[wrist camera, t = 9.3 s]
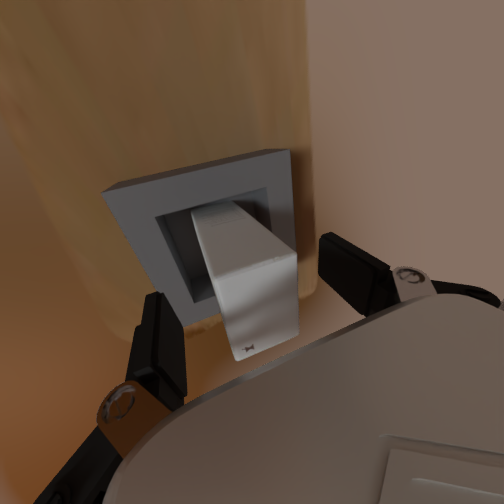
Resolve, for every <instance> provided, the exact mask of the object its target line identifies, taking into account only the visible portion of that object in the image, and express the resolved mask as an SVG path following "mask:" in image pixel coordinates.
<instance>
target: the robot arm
mask: <svg viewBox="0 0 504 504" xmlns="http://www.w3.org/2000/svg"><path fill="white" fill-rule="evenodd" d="M389 269H390V266H389V265H387V264H386V263H384V262H382V261H381V260H379V259H377V258H375V257H374V256H372V255H370V254H369V253H367V252H365V251H363V250H362V249H360V248H358V247H356V246H355V245H353V244H352V243H350V242H348V241H346V240H345V239H343V238H341V237H339V236H338V235H336V234H334V233H333V232H329V233H326V234H323V235H322V236H321V238H320V239H319V258H318V274H319V276H320V277H321V278H322V279H323V280H324V281H325V282H326V283H327V284H328V285H329V286H330V287H332V288H333V289H334V290H335V291H336V292H337V293H338V294H339V295H340V296H341V297H342V298H343V299H344V300H345V301H346V302H348V303H349V304H350V305H351V306H352V307H353V308H354V309H355V310H356V311H357V312H358V313H360V314H361V315H364V316H365V317H366V318H364V319H362V320H360V321H358V322H355V323H353V324H351V325H349V326H347V327H344V328H342V329H340V330H338V331H336V332H334V333H331V334H329V335H327V336H325V337H323V338H321V339H319V340H317V341H314V342H312V343H310V344H308V345H306V346H304V347H301V348H299V349H297V350H295V351H293V352H291V353H289V354H286V355H284V356H282V357H280V358H278V359H276V360H274V361H272V362H269V363H267V364H265V365H263V366H261V367H259V368H257V369H255V370H253V371H251V372H248V373H246V374H244V375H242V376H240V377H238V378H236V379H234V380H232V381H229V382H227V383H225V384H223V385H221V386H219V387H217V388H215V389H213V390H211V391H209V392H207V393H205V394H203V395H201V396H199V397H197V398H196V399H194V400H192V401H190V402H189V403H187V404H185V405H184V397H185V396H187V378H186V362H185V347H184V346H185V345H184V330H183V326H182V324H181V322H180V320H179V319H178V317H177V315H176V313H175V312H174V310H173V308H172V306H171V305H170V303H169V301H168V299H167V298H166V296H165V294H164V293H163V292H162V293H160V292H159V291H157V292H154V293H151V294H148V295H146V297H145V303H144V309H143V315H142V321H141V325H138V326H137V327H136V328H135V332H134V337H133V342H132V347H131V352H130V358H129V363H128V368H127V373H126V379H125V382H123V383H121V384H119V385H118V386H116V387H115V388H114V389H113V390H112V391H110V392H109V393H108V395H107V396H106V397H105V398H104V400H103V402H102V403H101V405H100V407H99V409H98V412H97V418H96V422H97V427H96V428H95V429H94V430H93V432H92V433H91V434H90V435H89V436H88V437H87V439H86V440H85V441H84V442H83V443H82V445H81V446H80V447H79V448H78V449H77V451H76V452H75V453H74V454H73V456H72V457H71V458H70V459H69V460H68V462H67V463H66V464H65V465H64V467H63V468H62V469H61V470H60V471H59V473H58V474H57V475H56V476H55V477H54V478H53V480H52V481H51V482H50V483H49V485H48V486H47V487H46V488H45V490H44V491H43V492H42V493H41V494H40V495H39V497H38V498H37V499H36V500H35V502H34V503H33V504H504V299H503V300H502V301H500V300H499V299H498V298H497V296H495V295H494V294H492V293H491V292H489V291H487V290H485V289H483V288H479V287H475V286H470V285H463V284H455V283H448V282H442V281H434V280H430V279H429V277H428V276H427V275H426V274H425V273H424V272H422V271H420V270H418V269H415V268H412V267H397V268H395V269H394V270H393V271H391V270H389Z"/></svg>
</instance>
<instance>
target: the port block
mask: <svg viewBox="0 0 504 504" xmlns="http://www.w3.org/2000/svg"><path fill="white" fill-rule="evenodd" d="M101 194H102V196H103V198H104V200H105V201H106V203H107V205H108V207H109V208H110V210H111V212H112V214H113V215H114V217H115V219H116V221H117V222H118V224H119V226H120V228H121V229H122V231H123V233H124V235H125V236H126V238H127V240H128V242H129V243H130V245H131V247H132V249H133V250H134V252H135V254H136V256H137V257H138V259H139V261H140V263H141V264H142V266H143V268H144V270H145V271H146V273H147V275H148V277H149V278H150V280H151V282H152V284H153V285H154V287H155V289H156V291H159V292H160V293H162V292H163V293H164V294H165V296H166V298H167V299H168V301H169V303H170V305H171V306H172V308H173V310H174V312H175V313H176V315H177V317H178V319H179V320H180V322H181V324H182V326H183V327H185V326H188V325H190V324H193V323H195V322H198V321H200V320H203V319H205V318H208V317H210V316H213V315H215V314H218V313H220V309H219V305H218V302H217V299H216V295H215V292H214V289H213V285H212V282H211V279H210V276H209V273H208V269H207V266H206V263H205V260H204V257H203V253H202V250H201V247H200V244H199V241H198V237H197V234H196V231H195V227H194V223H193V220H192V216H191V212H190V210H191V209H195V208H200V207H204V206H209V205H214V204H218V203H223V202H227V201H233V202H235V203H236V204H237V205H238V206H240V207H241V208H242V209H243V210H244V211H246V212H247V213H248V214H249V215H251V216H252V217H253V218H254V219H256V220H257V221H258V222H259V223H260V224H262V225H263V226H264V227H265V228H267V229H268V230H269V231H270V232H272V233H273V234H274V235H275V236H276V237H278V238H279V239H280V240H281V241H283V242H284V243H285V244H286V245H288V246H289V247H290V248H291V249H292V250H294V251H295V252H296V238H295V223H294V207H293V191H292V176H291V160H290V149H264V150H259V151H255V152H250V153H246V154H242V155H237V156H233V157H228V158H224V159H219V160H215V161H210V162H206V163H202V164H197V165H193V166H188V167H184V168H179V169H175V170H171V171H166V172H162V173H157V174H153V175H148V176H144V177H140V178H135V179H131V180H126V181H122V182H118V183H116V184H114V185H113V186H111V187H110V188H108V189H106V190H105V191H103V192H101ZM297 276H298V269H297Z"/></svg>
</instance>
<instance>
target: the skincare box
mask: <svg viewBox="0 0 504 504" xmlns="http://www.w3.org/2000/svg"><path fill="white" fill-rule="evenodd" d="M190 212H191V216H192V220H193V223H194V227H195V231H196V234H197V237H198V241H199V244H200V247H201V250H202V253H203V257H204V260H205V263H206V266H207V269H208V273H209V276H210V279H211V282H212V285H213V289H214V292H215V295H216V299H217V302H218V305H219V309H220V312H221V316H222V319H223V322H224V326H225V329H226V333H227V336H228V339H229V342H230V345H231V348H232V352H233V355H234V357H235V360H236V361H240V360H242V359H245V358H247V357H249V356H251V355H253V354H256V353H258V352H261V351H263V350H265V349H268V348H270V347H273V346H275V345H277V344H280V343H282V342H284V341H287V340H289V339H291V338H293V337H295V336H297V335H298V334H299V304H298V276H297V253H296V252H295V251H294V250H292V249H291V248H290V247H289V246H288V245H286V244H285V243H284V242H283V241H281V240H280V239H279V238H278V237H276V236H275V235H274V234H273V233H272V232H270V231H269V230H268V229H267V228H265V227H264V226H263V225H262V224H260V223H259V222H258V221H257V220H256V219H254V218H253V217H252V216H251V215H249V214H248V213H247V212H246V211H244V210H243V209H242V208H241V207H240V206H238V205H237V204H236V203H235V202H233V201H227V202H223V203H218V204H214V205H209V206H204V207H200V208H195V209H191V210H190Z"/></svg>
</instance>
